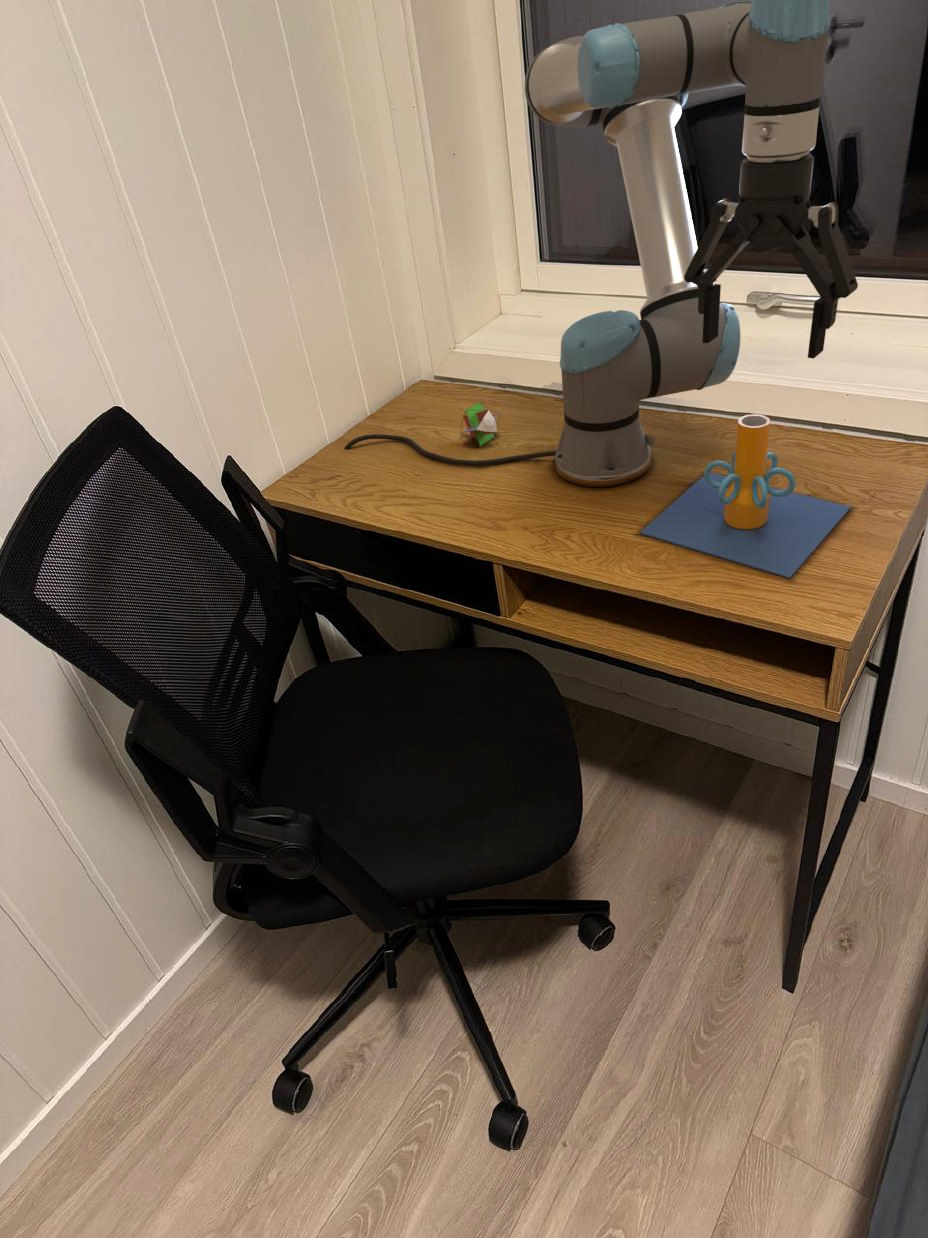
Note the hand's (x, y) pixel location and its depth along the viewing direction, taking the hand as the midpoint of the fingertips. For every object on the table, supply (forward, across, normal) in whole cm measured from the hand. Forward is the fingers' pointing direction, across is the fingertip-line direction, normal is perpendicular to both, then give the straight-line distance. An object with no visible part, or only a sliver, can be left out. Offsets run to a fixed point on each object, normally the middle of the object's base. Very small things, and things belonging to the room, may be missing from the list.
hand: (760, 346), depth 105 cm
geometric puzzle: (+25, -51, +3) cm, 57 cm away
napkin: (+25, 0, 0) cm, 25 cm away
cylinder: (+25, 0, 0) cm, 25 cm away
